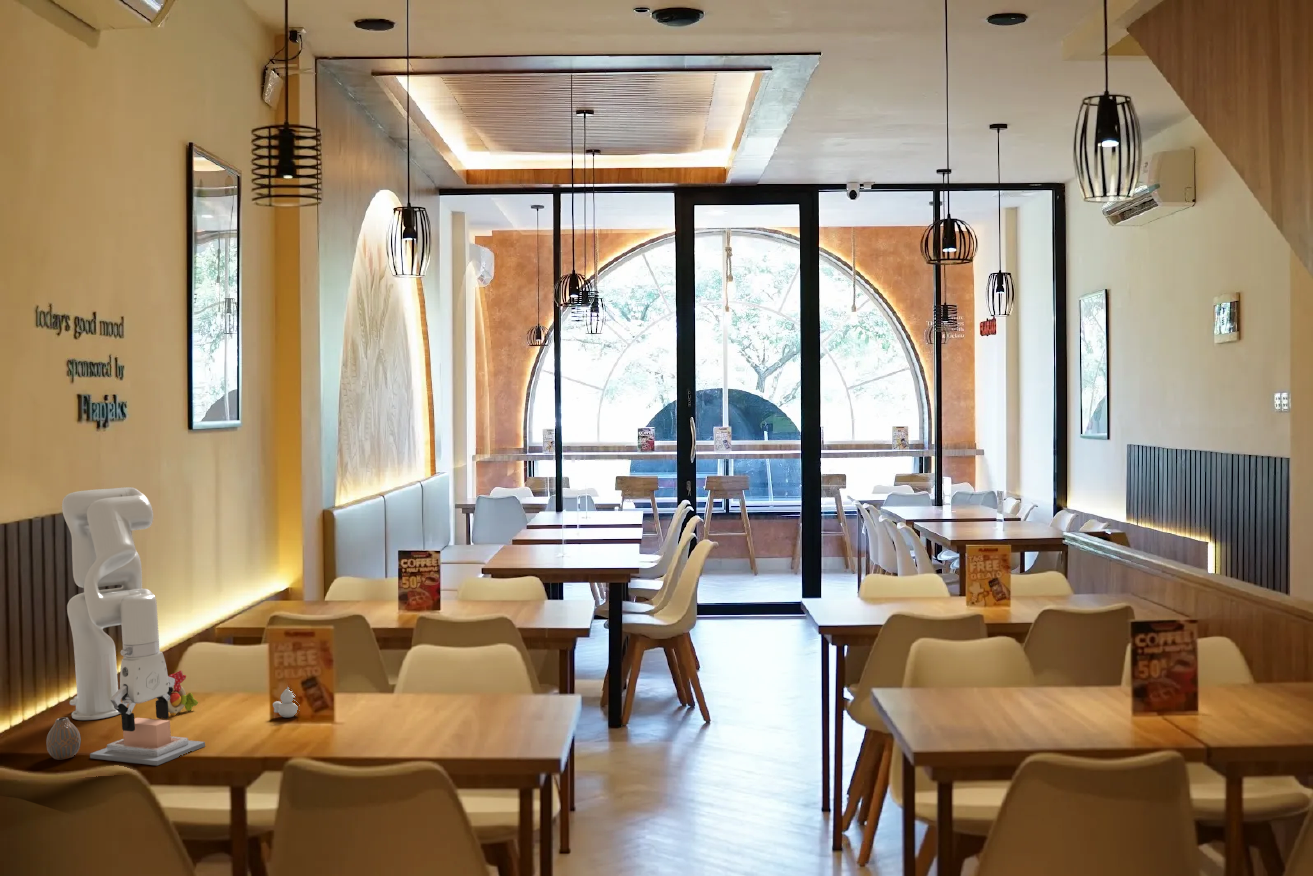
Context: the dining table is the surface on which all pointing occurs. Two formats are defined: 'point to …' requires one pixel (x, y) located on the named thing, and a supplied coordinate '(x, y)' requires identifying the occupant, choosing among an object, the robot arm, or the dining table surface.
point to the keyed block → (148, 733)
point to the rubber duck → (286, 704)
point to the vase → (63, 739)
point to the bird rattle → (180, 696)
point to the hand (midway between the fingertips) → (145, 724)
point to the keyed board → (147, 751)
